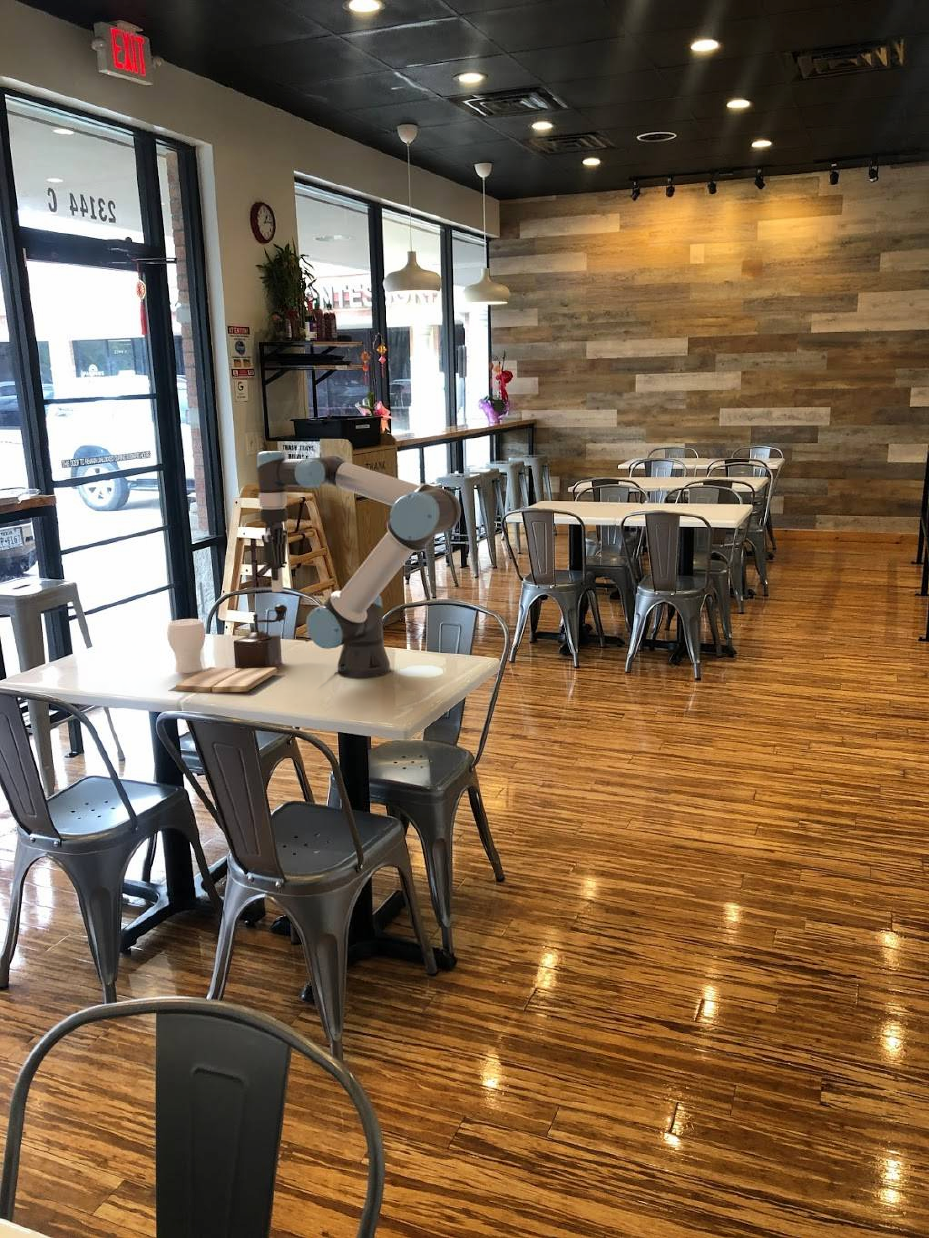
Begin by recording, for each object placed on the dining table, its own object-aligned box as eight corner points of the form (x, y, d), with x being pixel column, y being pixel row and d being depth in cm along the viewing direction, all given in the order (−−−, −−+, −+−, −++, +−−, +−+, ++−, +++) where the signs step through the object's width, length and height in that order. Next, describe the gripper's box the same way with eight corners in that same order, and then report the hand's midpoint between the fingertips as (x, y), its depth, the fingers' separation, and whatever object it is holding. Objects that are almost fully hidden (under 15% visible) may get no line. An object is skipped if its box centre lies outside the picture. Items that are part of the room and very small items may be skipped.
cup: (198, 678, 299) (194, 626, 296) (163, 676, 301) (159, 625, 298) (214, 668, 309) (210, 618, 306) (180, 667, 311) (177, 618, 308)
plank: (276, 672, 296) (276, 667, 296) (246, 691, 277) (246, 685, 277) (244, 673, 299) (243, 668, 298) (212, 692, 279) (211, 686, 279)
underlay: (285, 678, 297) (285, 675, 296) (254, 698, 276) (254, 695, 276) (204, 674, 302) (203, 671, 302) (168, 694, 282) (167, 690, 282)
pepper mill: (268, 674, 301) (265, 613, 298) (234, 672, 304) (230, 611, 301) (292, 662, 316) (290, 603, 312) (259, 660, 319) (256, 601, 315)
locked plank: (242, 673, 299) (242, 668, 298) (210, 692, 280) (210, 686, 279) (210, 672, 301) (209, 667, 301) (176, 690, 282) (175, 685, 282)
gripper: (270, 505, 298) (274, 587, 303) (250, 509, 285) (255, 595, 290) (294, 505, 296) (298, 587, 301) (276, 510, 284) (281, 595, 288)
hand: (277, 591), depth 295 cm, fingers closed
